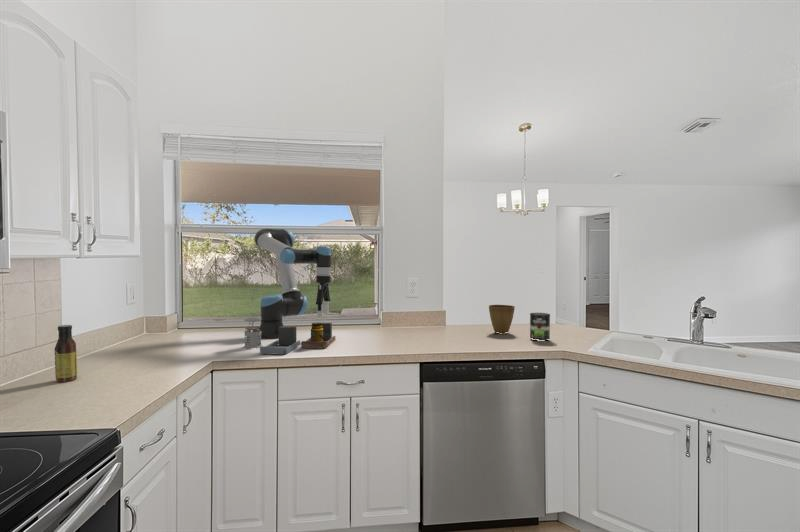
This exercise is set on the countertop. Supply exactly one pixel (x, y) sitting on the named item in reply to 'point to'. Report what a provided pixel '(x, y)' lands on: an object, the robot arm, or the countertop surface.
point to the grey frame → (282, 342)
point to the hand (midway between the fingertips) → (323, 315)
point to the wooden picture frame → (326, 338)
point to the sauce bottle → (65, 355)
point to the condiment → (316, 332)
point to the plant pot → (501, 317)
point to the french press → (252, 333)
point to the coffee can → (540, 326)
